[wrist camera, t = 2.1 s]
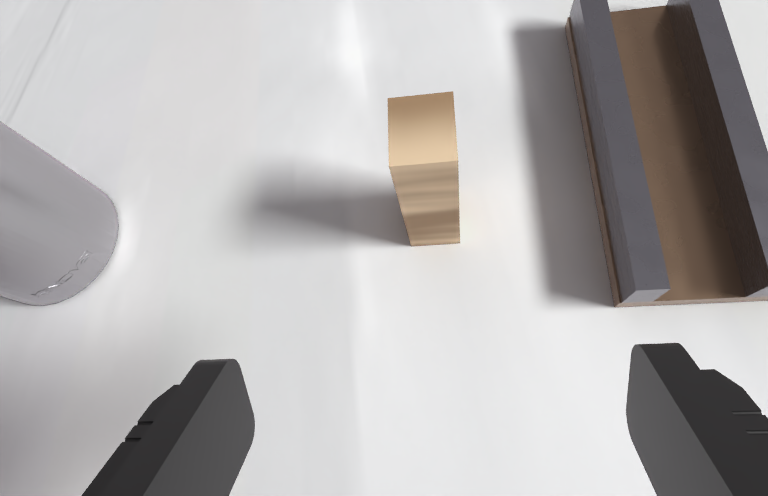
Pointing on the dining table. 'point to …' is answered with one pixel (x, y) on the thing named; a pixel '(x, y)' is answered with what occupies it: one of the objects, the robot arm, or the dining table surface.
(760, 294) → the door track
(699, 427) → the robot arm
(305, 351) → the dining table surface
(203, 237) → the dining table surface
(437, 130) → the light brown wooden block
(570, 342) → the dining table surface
